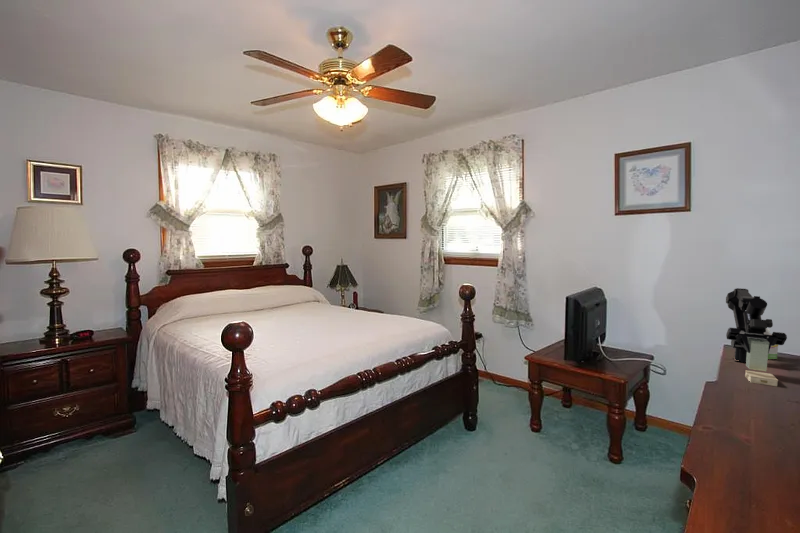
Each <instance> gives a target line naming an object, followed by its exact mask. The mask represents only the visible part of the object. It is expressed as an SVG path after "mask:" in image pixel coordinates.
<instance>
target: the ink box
mask: <svg viewBox="0 0 800 533" xmlns="http://www.w3.org/2000/svg"><path fill="white" fill-rule="evenodd" d="M764 334H766V335H772V333H771V329H770V328H768V327H767V328H766V332H764ZM778 350H779V345H774V346H771V347H770V350H769V354H768V359H777V360H778Z"/></svg>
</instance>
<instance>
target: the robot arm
mask: <svg viewBox="0 0 800 533" xmlns="http://www.w3.org/2000/svg"><path fill="white" fill-rule="evenodd" d="M725 304H727V307H728V308H729V309H730V310H731V311H733V312H732V313H733V316H734V317H733V318H734V321H735V327H729V328H727V330H726V331H727V332H726V336H725V337H726V339H727V340H730V346H731V347H732V348H733V349H735V350H734V357H735V359H736V360H739V361H741V362H740V363H743V362H746V356H747V352H748V353H750V348H749V344H748V338H756V339H765V340H767V341H768V342H769V349H768V354H769V350H770V347H771V346H774V345H778V346H783V345H784V344H785V343H786V341H787V339H788V336H787V334H786V333H785V332H778V331H773V332H772V333H771V334H772V335H766V334H764V332H766V328H768V329H770V328H772V327H773V326H774V324H773V320H772V318H771V319H768V318H766V319H762V316H763V314H764V313H765V310H766V308H767V306H768V302H767V301H766V300H765V299H763V298H761V296H760V295H759V296H757V295H756V296H755V295H754V296H752V294H751V293H750V292H749V289H747V288H739V287H738V288H737V287H736V288H734V289H733V291H730V292H728V293H727V295H726V297H725Z"/></svg>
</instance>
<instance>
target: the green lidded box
mask: <svg viewBox="0 0 800 533" xmlns="http://www.w3.org/2000/svg"><path fill="white" fill-rule="evenodd" d="M748 344H749V348H750V353H748V352H747V356H746V363H745V366H746V367H747V368H748V370H752V371H753V370H755V371H759V372H767V368H768V361H769V360H768V349H769V342H768V341H767V340H765V339H756V338H748Z"/></svg>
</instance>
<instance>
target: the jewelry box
mask: <svg viewBox="0 0 800 533" xmlns="http://www.w3.org/2000/svg"><path fill="white" fill-rule="evenodd" d="M744 377H745V378H746V379H747V380H748V382H749V381H750V382H749V383H750V384H757V385H765V386H771V387H778V382H779V379H777V378H776V376H775V375H773V373H767V372H763V371H756V370H755V371H753V370H749V369H748V370H746V369H745V374H744Z"/></svg>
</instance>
